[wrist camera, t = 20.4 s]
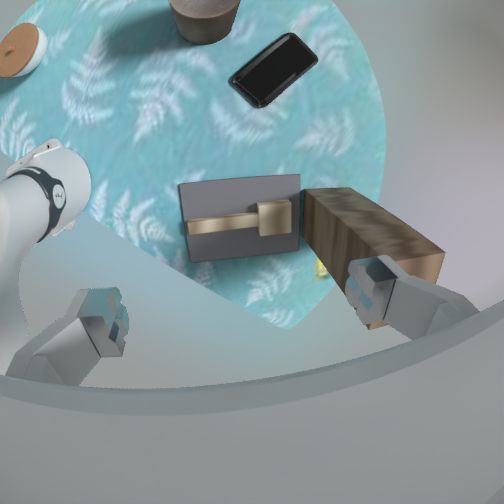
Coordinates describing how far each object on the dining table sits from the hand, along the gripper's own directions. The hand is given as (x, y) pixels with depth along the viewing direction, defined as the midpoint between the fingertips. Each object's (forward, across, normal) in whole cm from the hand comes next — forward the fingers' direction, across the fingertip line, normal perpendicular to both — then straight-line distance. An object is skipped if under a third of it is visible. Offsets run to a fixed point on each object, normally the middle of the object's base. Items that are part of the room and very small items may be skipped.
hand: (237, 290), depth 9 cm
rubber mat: (+41, +5, -14) cm, 44 cm away
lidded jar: (+41, -34, +27) cm, 60 cm away
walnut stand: (+41, +22, -14) cm, 49 cm away
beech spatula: (+41, +5, -14) cm, 43 cm away
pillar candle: (+41, 0, +24) cm, 48 cm away
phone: (+42, +12, +14) cm, 46 cm away
